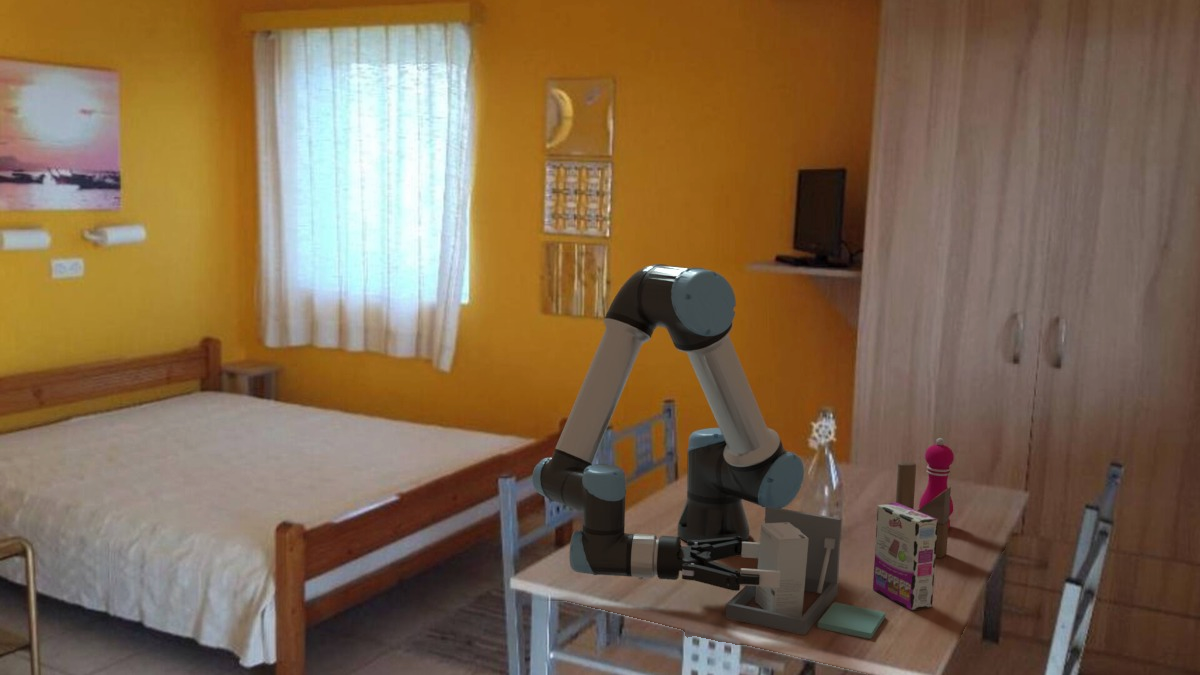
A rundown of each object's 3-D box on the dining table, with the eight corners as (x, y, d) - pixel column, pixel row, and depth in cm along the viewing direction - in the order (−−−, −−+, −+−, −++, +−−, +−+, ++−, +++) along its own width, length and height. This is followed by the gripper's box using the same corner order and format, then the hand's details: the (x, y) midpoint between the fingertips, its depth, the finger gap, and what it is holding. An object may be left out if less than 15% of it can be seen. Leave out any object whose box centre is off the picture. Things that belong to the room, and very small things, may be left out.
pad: (817, 627, 178) (817, 622, 178) (833, 607, 187) (834, 602, 187) (870, 639, 174) (871, 633, 174) (884, 617, 183) (885, 612, 183)
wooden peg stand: (940, 559, 212) (946, 472, 210) (889, 547, 219) (894, 463, 216) (947, 554, 215) (952, 468, 213) (896, 542, 222) (901, 459, 219)
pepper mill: (916, 529, 231) (921, 439, 228) (919, 519, 237) (924, 432, 234) (950, 533, 228) (956, 443, 225) (953, 523, 235) (959, 436, 232)
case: (725, 617, 182) (728, 536, 180) (764, 580, 199) (767, 506, 197) (804, 635, 175) (808, 551, 173) (837, 595, 193) (841, 518, 191)
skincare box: (754, 602, 189) (757, 522, 186) (785, 599, 190) (788, 520, 188) (773, 621, 181) (777, 537, 178) (805, 618, 182) (809, 535, 180)
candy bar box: (934, 607, 188) (939, 518, 185) (911, 611, 186) (917, 522, 183) (892, 585, 198) (897, 501, 195) (871, 589, 196) (876, 503, 193)
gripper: (663, 553, 199) (776, 560, 196) (649, 604, 175) (779, 614, 172) (664, 514, 198) (778, 521, 195) (650, 561, 174) (781, 570, 171)
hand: (779, 565), depth 184 cm, fingers open, 13 cm apart
